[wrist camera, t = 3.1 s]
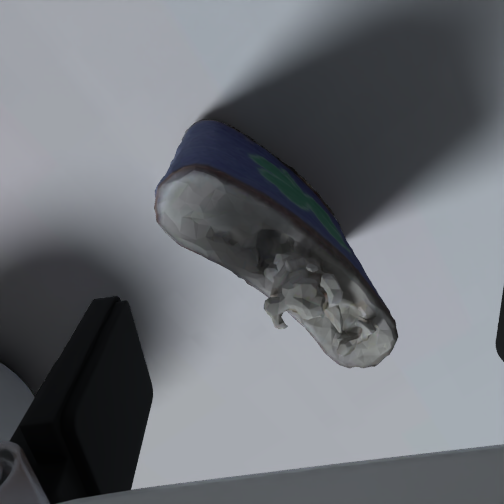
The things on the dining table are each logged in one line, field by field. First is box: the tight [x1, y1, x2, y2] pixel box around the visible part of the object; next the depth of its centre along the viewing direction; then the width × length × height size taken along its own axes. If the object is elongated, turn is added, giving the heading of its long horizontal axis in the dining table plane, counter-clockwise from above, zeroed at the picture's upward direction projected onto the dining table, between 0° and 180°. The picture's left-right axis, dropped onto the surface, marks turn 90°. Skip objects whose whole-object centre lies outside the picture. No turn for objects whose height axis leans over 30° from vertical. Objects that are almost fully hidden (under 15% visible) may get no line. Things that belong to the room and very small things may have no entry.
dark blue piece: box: [154, 120, 398, 368], centre depth 16 cm, size 9×3×11 cm, turn 49°
